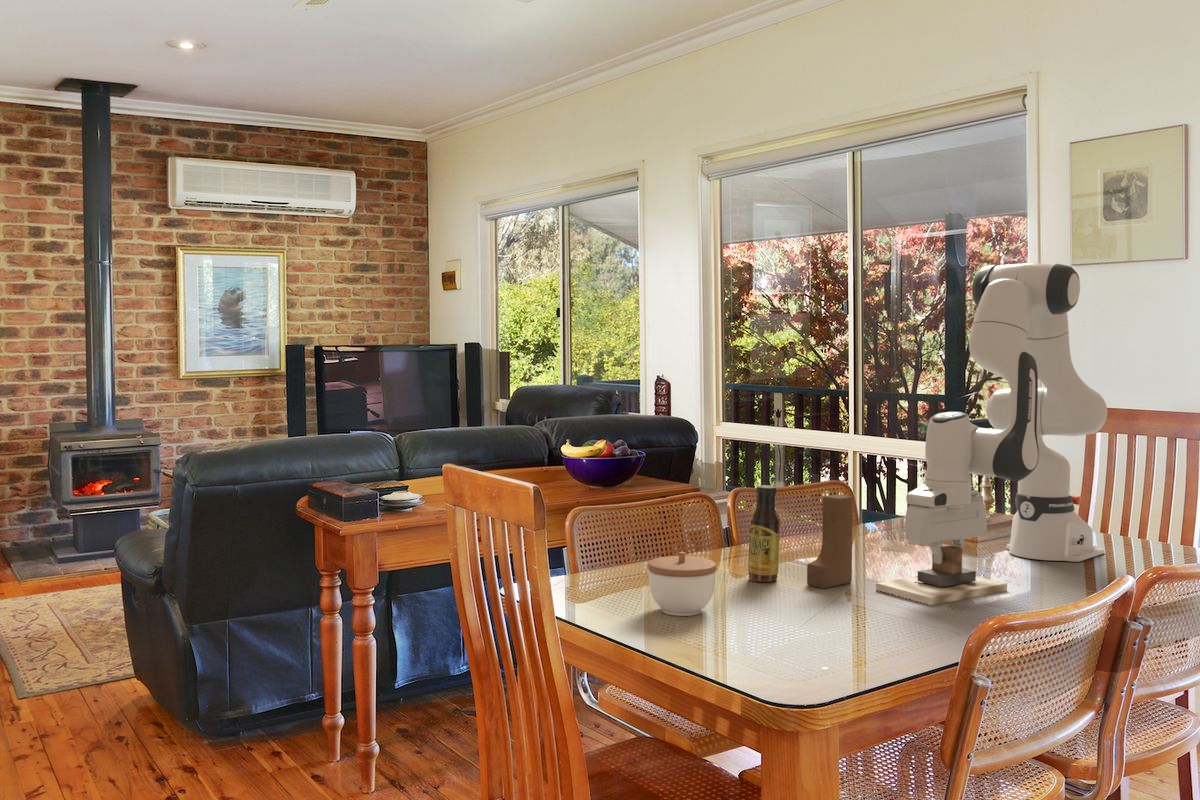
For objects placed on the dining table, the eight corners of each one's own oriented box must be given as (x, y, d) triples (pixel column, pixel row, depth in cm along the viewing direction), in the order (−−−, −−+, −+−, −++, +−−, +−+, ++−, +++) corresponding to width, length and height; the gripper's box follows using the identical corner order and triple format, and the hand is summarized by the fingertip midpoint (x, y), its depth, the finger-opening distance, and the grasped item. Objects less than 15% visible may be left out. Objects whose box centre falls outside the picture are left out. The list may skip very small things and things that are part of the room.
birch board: (950, 577, 221) (950, 569, 221) (1007, 590, 209) (1007, 582, 209) (875, 590, 210) (876, 582, 209) (931, 605, 198) (931, 597, 198)
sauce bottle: (742, 580, 219) (742, 486, 218) (759, 575, 224) (759, 483, 222) (768, 585, 215) (769, 489, 213) (785, 580, 219) (786, 485, 218)
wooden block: (823, 589, 211) (823, 500, 210) (806, 585, 214) (806, 498, 213) (852, 583, 216) (853, 496, 215) (835, 579, 220) (836, 494, 219)
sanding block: (951, 575, 215) (952, 541, 214) (975, 581, 210) (976, 546, 209) (917, 581, 210) (918, 546, 209) (941, 586, 204) (942, 551, 204)
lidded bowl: (647, 602, 201) (647, 545, 200) (713, 602, 201) (713, 545, 200) (648, 620, 188) (648, 559, 188) (718, 620, 188) (719, 559, 187)
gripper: (969, 487, 217) (968, 553, 218) (900, 495, 206) (899, 564, 207) (995, 491, 211) (993, 559, 212) (925, 499, 201) (924, 570, 202)
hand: (946, 562), depth 209 cm, fingers closed on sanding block, 3 cm apart
